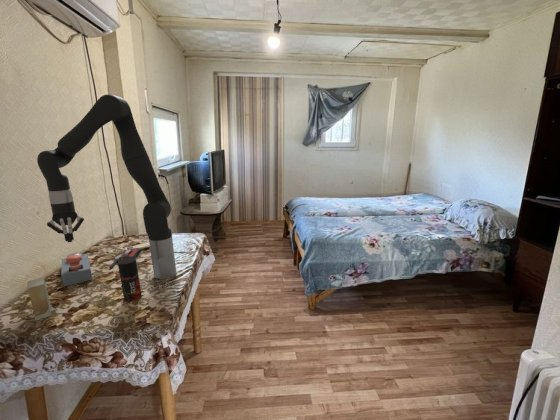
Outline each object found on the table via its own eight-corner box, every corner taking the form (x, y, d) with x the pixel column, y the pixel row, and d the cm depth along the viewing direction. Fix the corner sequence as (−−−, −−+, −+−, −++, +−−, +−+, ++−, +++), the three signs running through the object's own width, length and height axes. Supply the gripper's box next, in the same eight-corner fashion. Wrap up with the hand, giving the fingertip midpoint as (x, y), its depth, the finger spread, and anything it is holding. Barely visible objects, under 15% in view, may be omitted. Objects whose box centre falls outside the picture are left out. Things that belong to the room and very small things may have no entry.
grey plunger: (84, 268, 134) (81, 255, 132) (69, 271, 131) (66, 258, 129) (84, 264, 138) (81, 251, 137) (69, 267, 135) (66, 254, 134)
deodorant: (130, 303, 107) (123, 265, 103) (120, 298, 110) (114, 261, 106) (144, 295, 112) (139, 259, 108) (135, 291, 115) (129, 256, 111)
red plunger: (84, 271, 125) (81, 257, 123) (68, 275, 122) (65, 261, 120) (84, 267, 129) (81, 253, 127) (68, 270, 126) (65, 256, 124)
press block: (92, 279, 125) (90, 268, 124) (63, 286, 120) (61, 275, 119) (89, 263, 141) (87, 253, 140) (64, 269, 136) (61, 259, 134)
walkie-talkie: (124, 253, 154) (107, 270, 135) (123, 245, 153) (106, 261, 134) (142, 252, 155) (127, 268, 136) (140, 244, 154) (126, 260, 135)
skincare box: (36, 312, 103) (27, 280, 99) (51, 307, 105) (44, 276, 102) (35, 321, 98) (26, 288, 94) (51, 316, 100) (43, 283, 97)
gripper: (40, 205, 111) (49, 248, 115) (81, 200, 118) (89, 240, 123) (41, 201, 117) (50, 242, 121) (81, 197, 124) (88, 235, 129)
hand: (70, 241), depth 122 cm, fingers closed
